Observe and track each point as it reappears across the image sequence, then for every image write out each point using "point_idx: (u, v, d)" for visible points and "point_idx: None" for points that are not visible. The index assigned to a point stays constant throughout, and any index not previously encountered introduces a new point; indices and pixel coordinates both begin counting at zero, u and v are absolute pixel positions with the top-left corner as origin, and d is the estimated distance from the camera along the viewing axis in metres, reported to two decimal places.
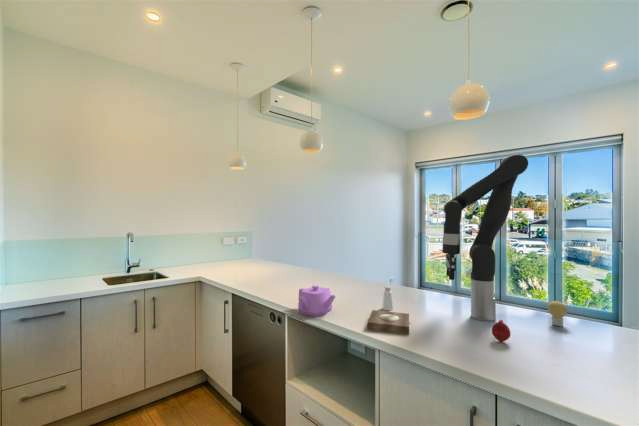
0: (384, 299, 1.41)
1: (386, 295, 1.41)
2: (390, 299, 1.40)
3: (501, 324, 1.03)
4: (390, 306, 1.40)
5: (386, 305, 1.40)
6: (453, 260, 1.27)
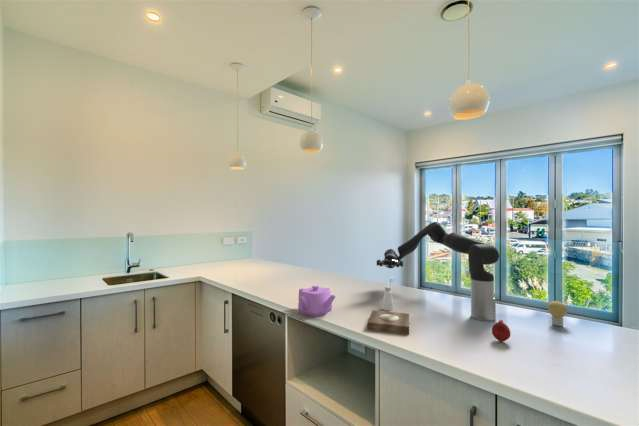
0: (384, 299, 1.41)
1: (386, 295, 1.41)
2: (390, 299, 1.40)
3: (501, 324, 1.03)
4: (390, 306, 1.40)
5: (386, 305, 1.40)
6: None
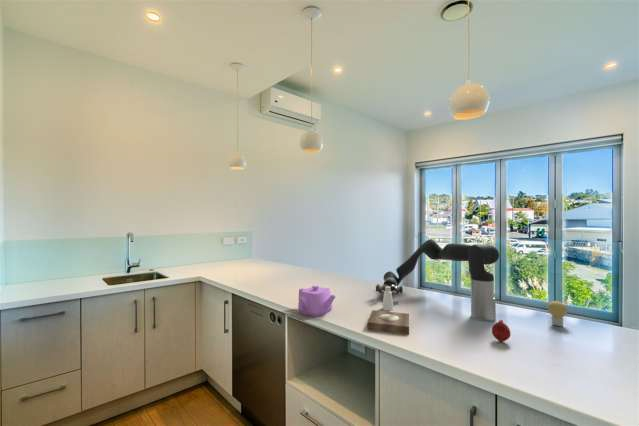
0: (384, 299, 1.41)
1: (386, 295, 1.41)
2: (390, 299, 1.40)
3: (501, 324, 1.03)
4: (390, 306, 1.40)
5: (386, 305, 1.40)
6: None
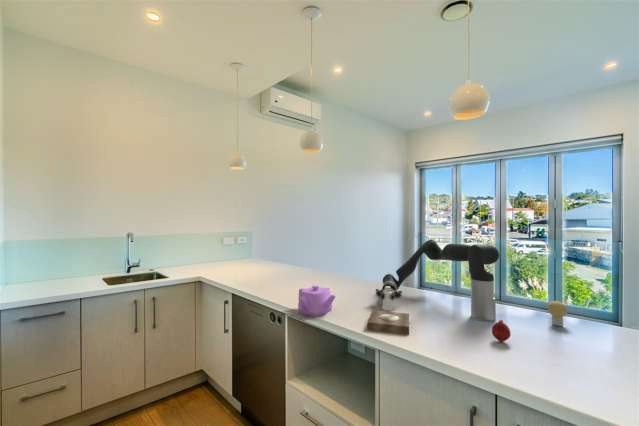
0: (384, 299, 1.41)
1: (386, 295, 1.41)
2: (390, 299, 1.40)
3: (501, 324, 1.03)
4: (390, 306, 1.40)
5: (386, 305, 1.40)
6: (401, 294, 1.46)
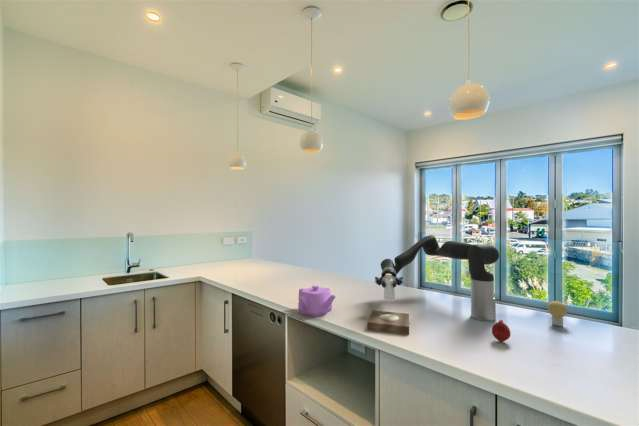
0: (385, 288, 1.31)
1: (387, 283, 1.30)
2: (392, 287, 1.30)
3: (501, 324, 1.03)
4: (392, 295, 1.30)
5: (388, 294, 1.30)
6: (402, 280, 1.36)
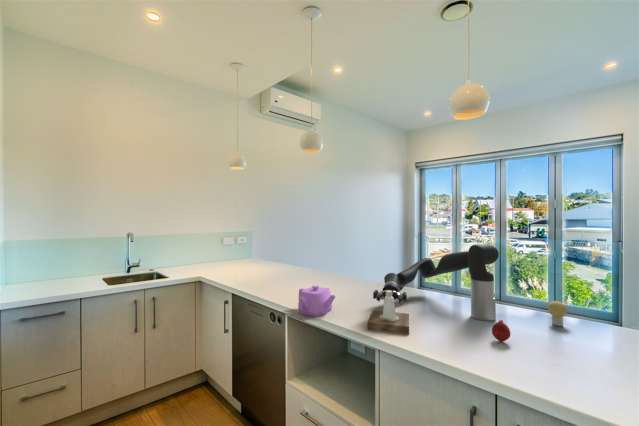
0: (385, 306, 1.20)
1: (387, 301, 1.19)
2: (392, 306, 1.19)
3: (501, 324, 1.03)
4: (392, 314, 1.19)
5: (387, 313, 1.19)
6: None
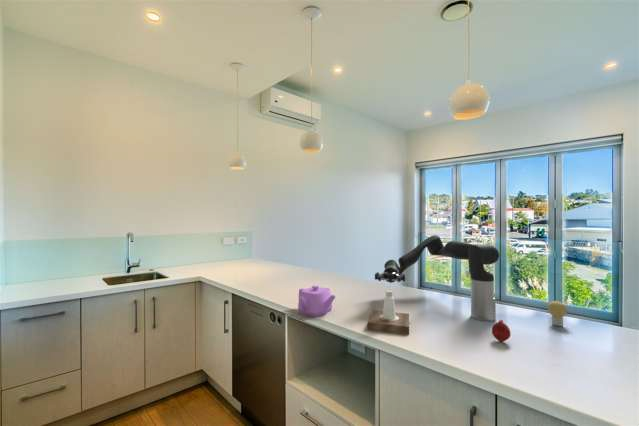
0: (385, 306, 1.20)
1: (387, 301, 1.19)
2: (392, 306, 1.19)
3: (501, 324, 1.03)
4: (392, 314, 1.19)
5: (387, 313, 1.19)
6: None
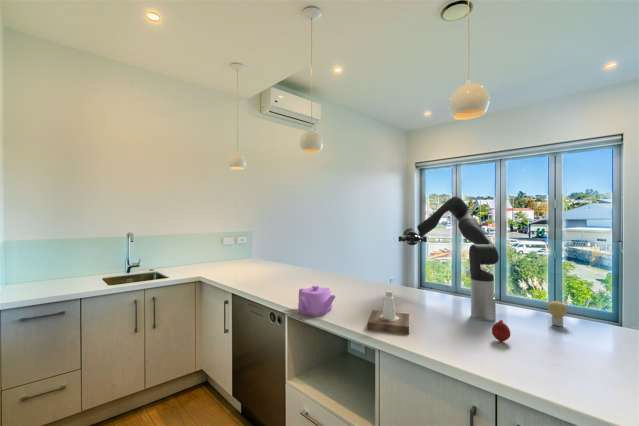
0: (385, 306, 1.20)
1: (387, 301, 1.19)
2: (392, 306, 1.19)
3: (501, 324, 1.03)
4: (392, 314, 1.19)
5: (387, 313, 1.19)
6: None
